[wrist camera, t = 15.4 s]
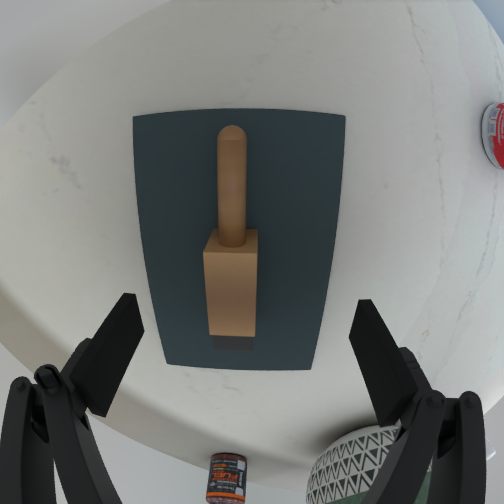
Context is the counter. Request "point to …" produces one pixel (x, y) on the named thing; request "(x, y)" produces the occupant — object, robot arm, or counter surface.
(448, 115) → the counter surface
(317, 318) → the mat
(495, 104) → the pill bottle
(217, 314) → the scrub brush
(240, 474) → the supplement bottle
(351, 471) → the planter
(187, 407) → the counter surface
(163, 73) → the counter surface
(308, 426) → the counter surface
